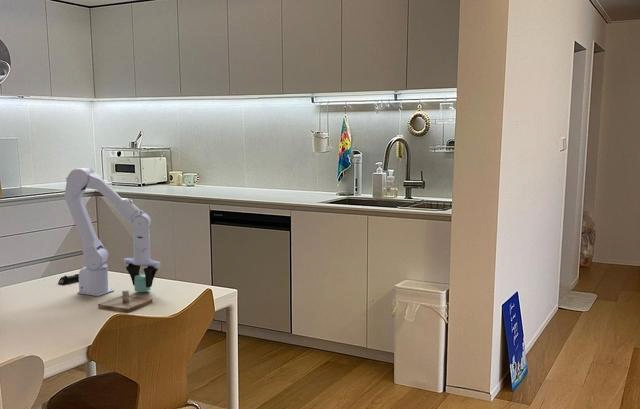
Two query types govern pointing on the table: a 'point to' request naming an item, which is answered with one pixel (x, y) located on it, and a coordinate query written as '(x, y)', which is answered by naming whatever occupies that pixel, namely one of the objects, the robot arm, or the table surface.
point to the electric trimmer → (68, 279)
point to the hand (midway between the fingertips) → (142, 285)
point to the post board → (125, 303)
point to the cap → (140, 283)
